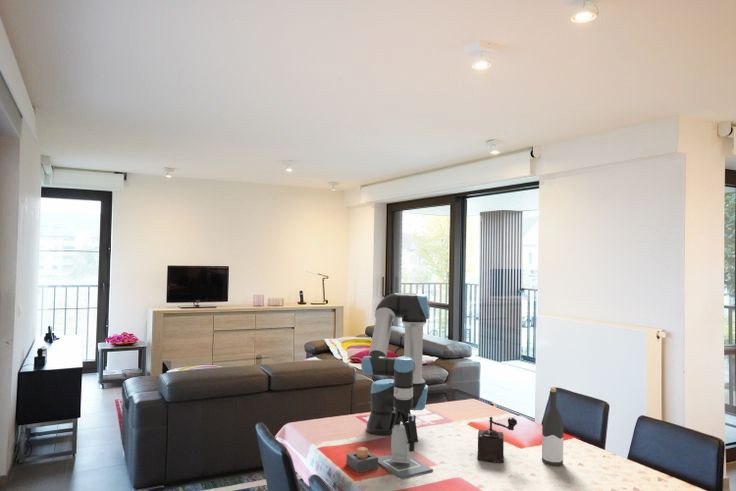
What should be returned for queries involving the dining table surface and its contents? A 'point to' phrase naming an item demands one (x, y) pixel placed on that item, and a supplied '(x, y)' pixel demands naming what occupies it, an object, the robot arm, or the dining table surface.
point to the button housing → (362, 462)
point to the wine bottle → (552, 434)
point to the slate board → (403, 467)
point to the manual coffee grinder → (493, 442)
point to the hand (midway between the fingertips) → (402, 454)
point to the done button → (362, 453)
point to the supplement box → (399, 444)
